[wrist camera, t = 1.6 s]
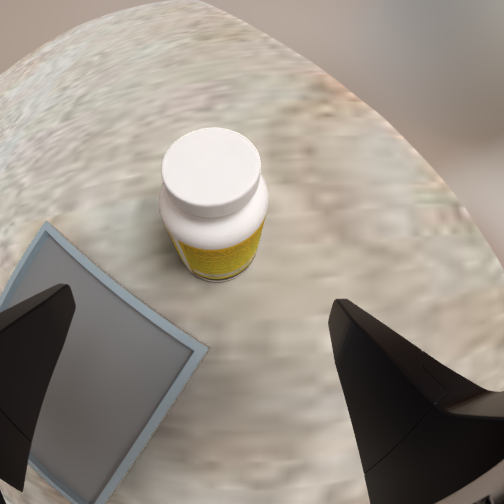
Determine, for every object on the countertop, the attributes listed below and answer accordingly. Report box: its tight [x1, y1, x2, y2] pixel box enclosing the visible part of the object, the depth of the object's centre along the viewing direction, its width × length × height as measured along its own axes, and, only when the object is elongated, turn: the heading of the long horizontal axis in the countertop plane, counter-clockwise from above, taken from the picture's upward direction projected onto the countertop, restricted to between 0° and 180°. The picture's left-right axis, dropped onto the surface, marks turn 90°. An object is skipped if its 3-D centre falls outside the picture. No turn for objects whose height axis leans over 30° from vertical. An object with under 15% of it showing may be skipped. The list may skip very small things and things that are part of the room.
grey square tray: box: [0, 221, 210, 504], centre depth 16 cm, size 18×16×4 cm
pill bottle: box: [159, 127, 268, 282], centre depth 17 cm, size 6×6×11 cm
